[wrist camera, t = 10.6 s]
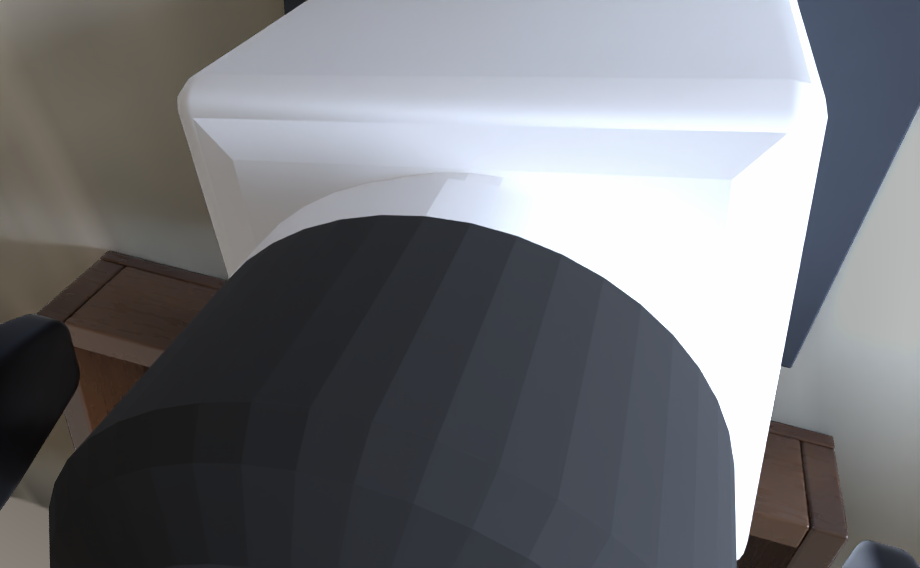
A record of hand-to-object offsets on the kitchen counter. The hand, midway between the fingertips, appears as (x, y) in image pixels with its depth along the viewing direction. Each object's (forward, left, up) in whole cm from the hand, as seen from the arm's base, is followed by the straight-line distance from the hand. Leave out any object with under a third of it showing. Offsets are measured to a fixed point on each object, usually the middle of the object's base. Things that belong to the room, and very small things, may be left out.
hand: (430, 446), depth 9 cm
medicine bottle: (0, 0, -9) cm, 9 cm away
